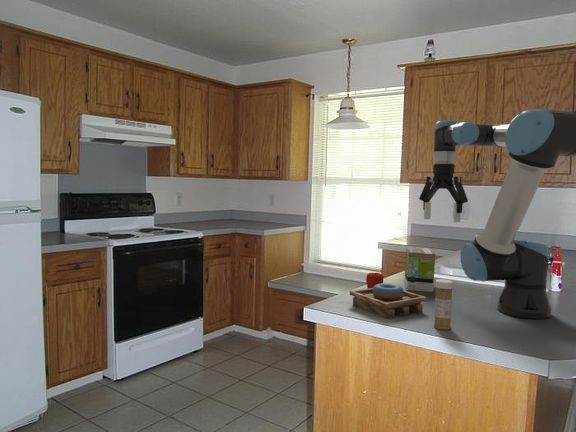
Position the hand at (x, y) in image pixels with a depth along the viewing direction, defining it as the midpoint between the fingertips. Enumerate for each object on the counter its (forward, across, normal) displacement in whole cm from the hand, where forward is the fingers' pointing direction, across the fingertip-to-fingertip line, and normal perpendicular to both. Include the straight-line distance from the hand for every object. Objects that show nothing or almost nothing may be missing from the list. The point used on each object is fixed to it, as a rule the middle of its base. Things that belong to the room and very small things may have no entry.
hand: (441, 220), depth 164 cm
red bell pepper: (+27, +9, +24) cm, 37 cm away
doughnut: (+23, -8, +34) cm, 42 cm away
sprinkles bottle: (+27, -30, +34) cm, 53 cm away
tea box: (+27, +8, +2) cm, 28 cm away
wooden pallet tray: (+27, -8, +34) cm, 44 cm away
